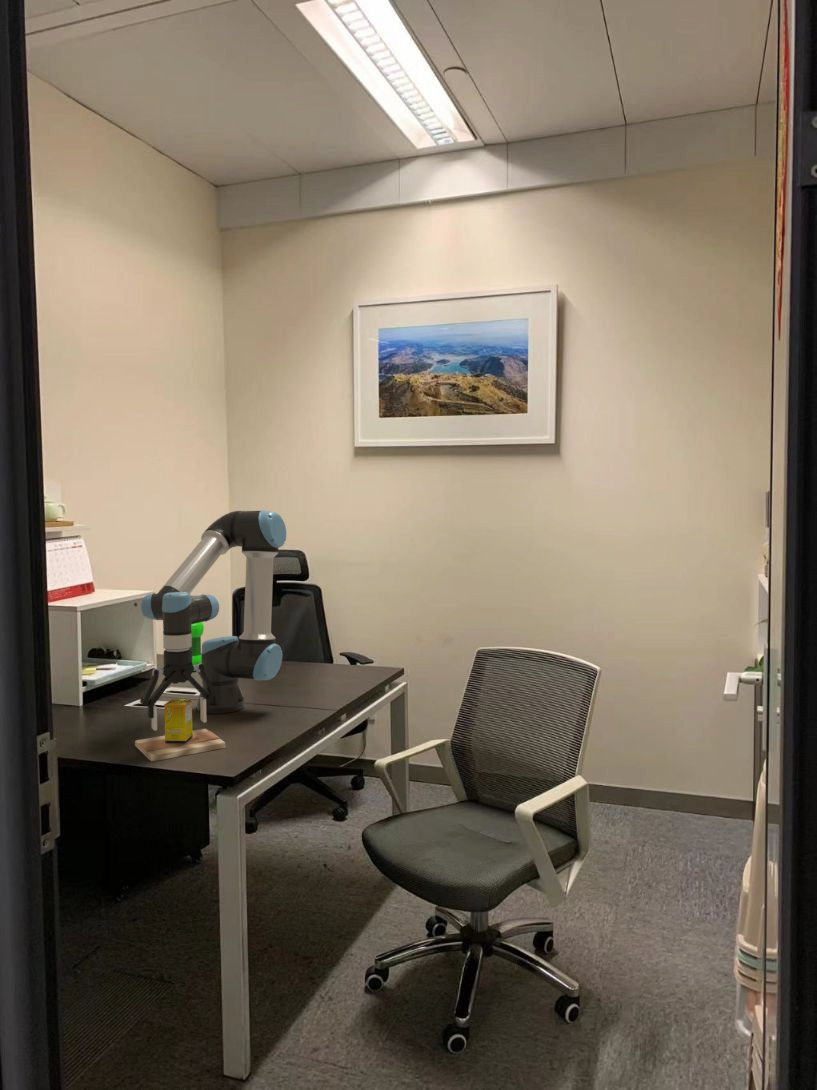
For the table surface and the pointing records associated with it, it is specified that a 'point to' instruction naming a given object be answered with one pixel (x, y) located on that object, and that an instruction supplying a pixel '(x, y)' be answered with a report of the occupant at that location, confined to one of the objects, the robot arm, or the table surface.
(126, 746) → the table surface
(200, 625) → the plastic bottle
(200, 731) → the board
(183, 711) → the supplement box
